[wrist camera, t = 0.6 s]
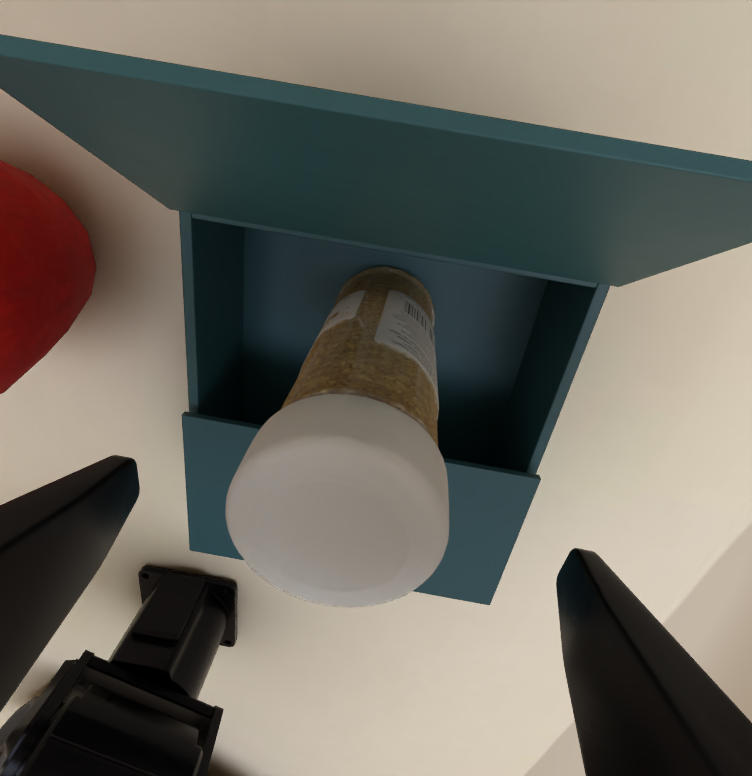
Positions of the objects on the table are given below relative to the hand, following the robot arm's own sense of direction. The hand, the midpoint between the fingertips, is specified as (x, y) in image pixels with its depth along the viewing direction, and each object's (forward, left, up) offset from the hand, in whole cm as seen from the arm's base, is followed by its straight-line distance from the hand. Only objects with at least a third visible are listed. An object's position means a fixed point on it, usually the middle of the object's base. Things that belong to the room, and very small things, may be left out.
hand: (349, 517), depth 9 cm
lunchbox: (-3, 0, -13) cm, 14 cm away
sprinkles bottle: (0, 0, -13) cm, 13 cm away
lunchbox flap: (+6, 0, -4) cm, 7 cm away
